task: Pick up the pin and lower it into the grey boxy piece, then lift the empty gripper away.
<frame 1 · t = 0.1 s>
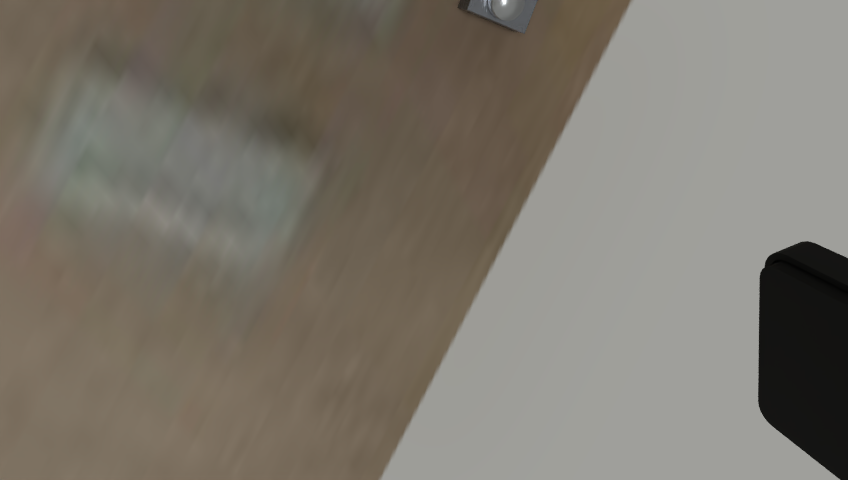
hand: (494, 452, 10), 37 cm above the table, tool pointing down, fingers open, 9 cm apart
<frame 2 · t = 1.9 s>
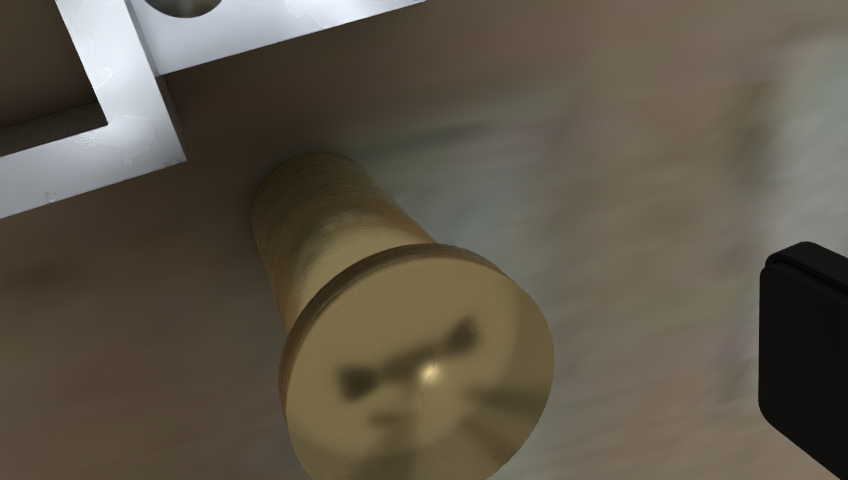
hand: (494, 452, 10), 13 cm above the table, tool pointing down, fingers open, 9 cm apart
pin: (318, 217, 21), on the table
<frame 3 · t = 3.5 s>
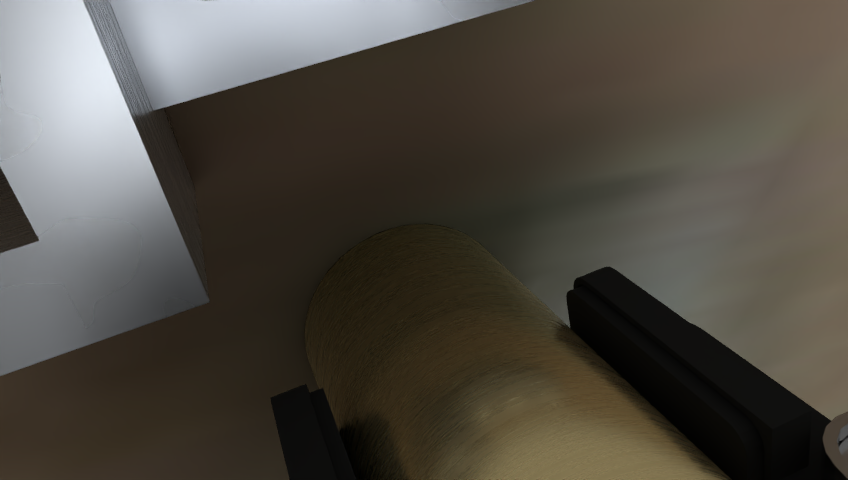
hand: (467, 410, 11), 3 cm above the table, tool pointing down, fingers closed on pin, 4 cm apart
pin: (410, 323, 13), on the table, touching gripper
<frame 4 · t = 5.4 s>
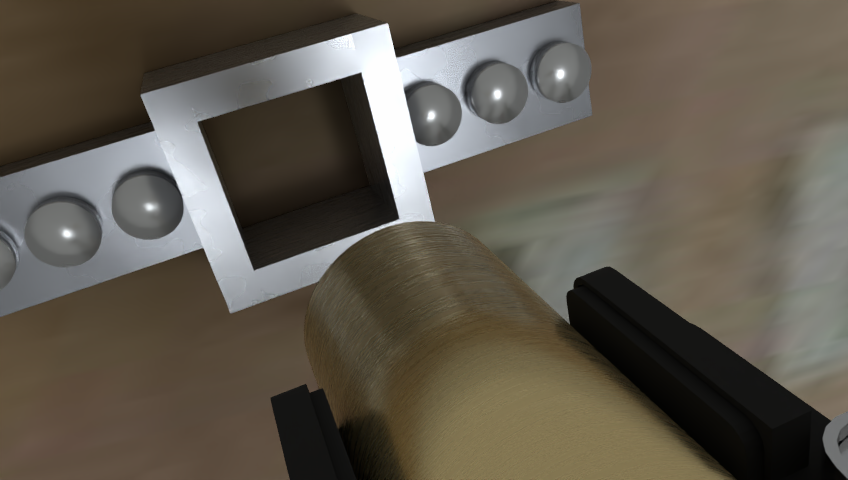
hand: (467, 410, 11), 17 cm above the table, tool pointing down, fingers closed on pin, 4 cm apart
pin: (409, 320, 13), point 14 cm above the table, touching gripper
grey boxy piece: (286, 144, 26), on the table
when the fingers open (5 cm above the table, at t = 7.6 s): pin drops 2 cm, resting in grey boxy piece.
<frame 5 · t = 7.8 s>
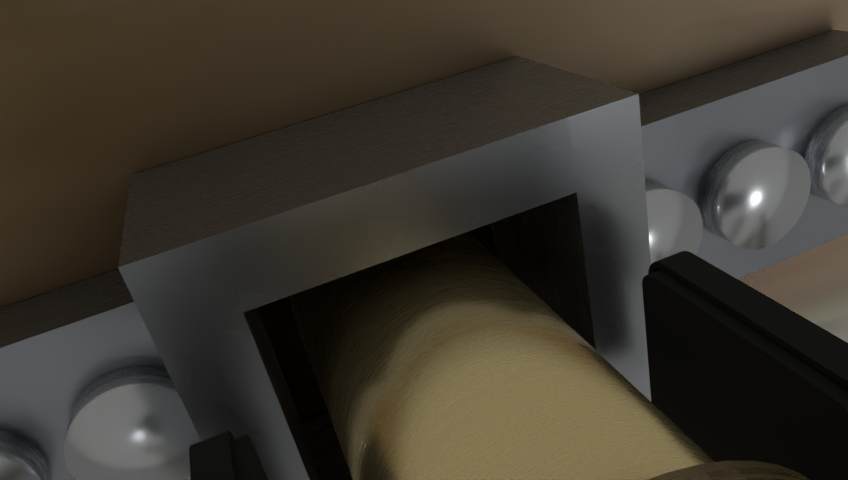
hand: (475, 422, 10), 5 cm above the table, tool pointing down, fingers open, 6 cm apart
pin: (384, 282, 15), resting in grey boxy piece
grey boxy piece: (383, 282, 15), on the table
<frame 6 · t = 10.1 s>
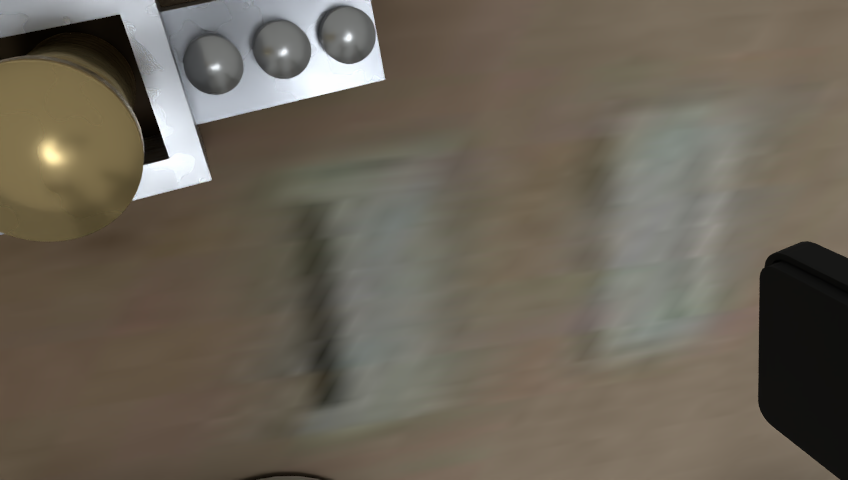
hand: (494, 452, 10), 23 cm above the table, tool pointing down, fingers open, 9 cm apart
pin: (81, 84, 27), resting in grey boxy piece
grey boxy piece: (80, 84, 27), on the table
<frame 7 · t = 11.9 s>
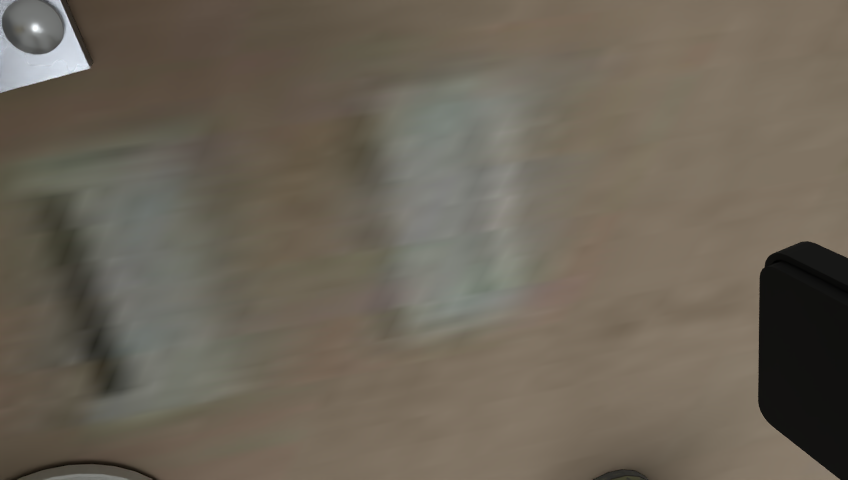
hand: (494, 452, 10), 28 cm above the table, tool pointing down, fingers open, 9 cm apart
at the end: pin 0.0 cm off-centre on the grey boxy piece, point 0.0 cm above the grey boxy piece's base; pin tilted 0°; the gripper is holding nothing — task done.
